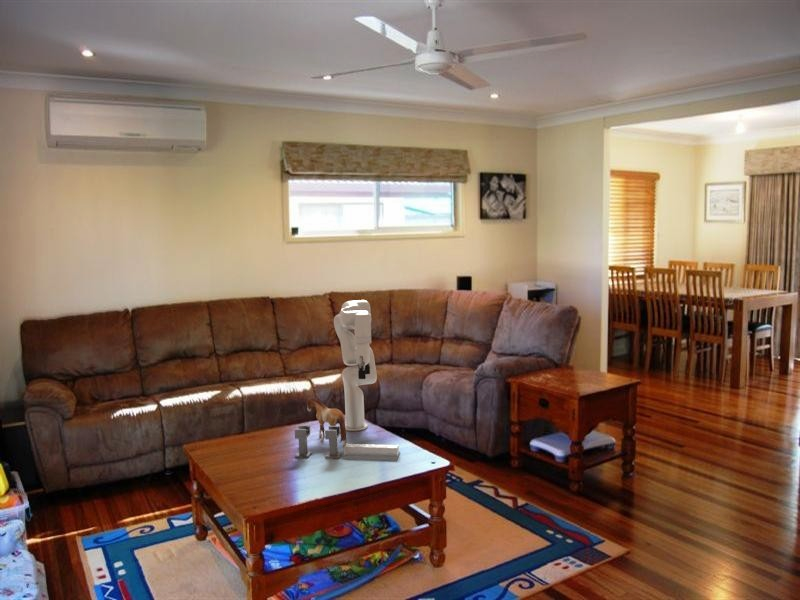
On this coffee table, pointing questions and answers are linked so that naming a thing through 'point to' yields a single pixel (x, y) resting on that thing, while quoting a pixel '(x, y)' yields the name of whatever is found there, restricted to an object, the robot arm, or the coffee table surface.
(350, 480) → the coffee table surface
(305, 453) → the post
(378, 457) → the mat
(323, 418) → the horse figurine
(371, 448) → the rail
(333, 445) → the post
